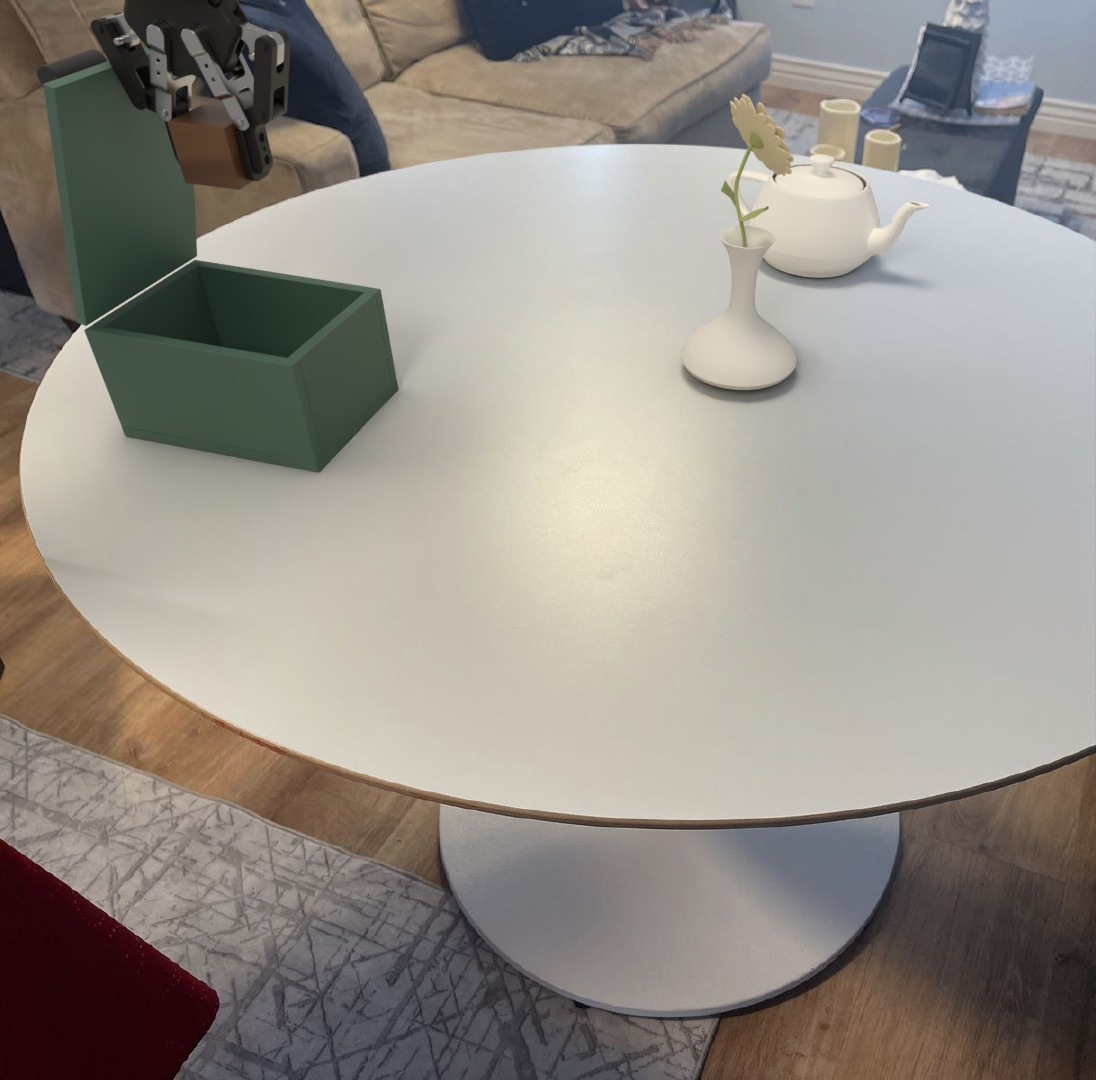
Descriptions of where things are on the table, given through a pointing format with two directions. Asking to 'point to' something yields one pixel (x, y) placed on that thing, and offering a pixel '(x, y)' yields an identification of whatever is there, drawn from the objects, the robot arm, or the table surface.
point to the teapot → (821, 218)
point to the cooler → (247, 363)
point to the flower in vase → (745, 281)
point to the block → (208, 148)
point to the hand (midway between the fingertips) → (227, 172)
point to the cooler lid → (114, 186)
